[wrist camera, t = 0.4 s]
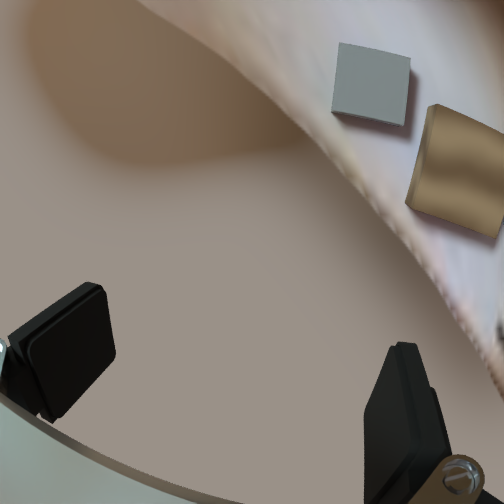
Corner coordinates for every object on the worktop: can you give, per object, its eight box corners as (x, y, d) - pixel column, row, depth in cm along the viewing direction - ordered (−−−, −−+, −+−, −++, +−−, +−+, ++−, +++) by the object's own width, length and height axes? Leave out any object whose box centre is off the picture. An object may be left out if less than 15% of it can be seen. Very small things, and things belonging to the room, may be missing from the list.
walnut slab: (426, 107, 31) (437, 103, 27) (505, 142, 29) (521, 143, 25) (404, 202, 35) (412, 208, 31) (482, 229, 33) (495, 239, 30)
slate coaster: (338, 49, 31) (339, 42, 28) (404, 63, 29) (410, 58, 27) (331, 112, 34) (331, 110, 31) (398, 126, 32) (403, 125, 30)
